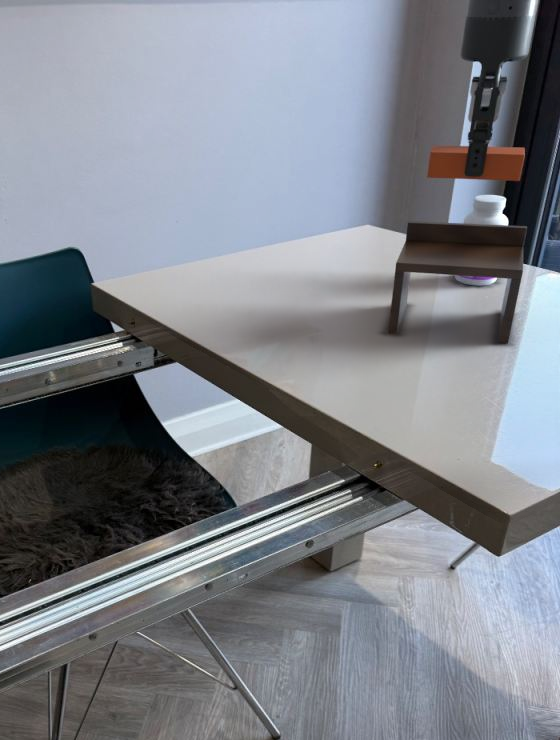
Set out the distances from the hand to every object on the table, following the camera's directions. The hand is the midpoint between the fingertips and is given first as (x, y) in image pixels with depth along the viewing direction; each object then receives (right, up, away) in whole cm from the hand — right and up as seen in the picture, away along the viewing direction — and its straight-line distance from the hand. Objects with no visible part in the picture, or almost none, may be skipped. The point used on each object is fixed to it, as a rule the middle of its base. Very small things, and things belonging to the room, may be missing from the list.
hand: (474, 170), depth 99 cm
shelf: (+2, -16, +14) cm, 21 cm away
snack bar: (0, 0, 0) cm, 1 cm away
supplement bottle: (+11, -5, +29) cm, 32 cm away
